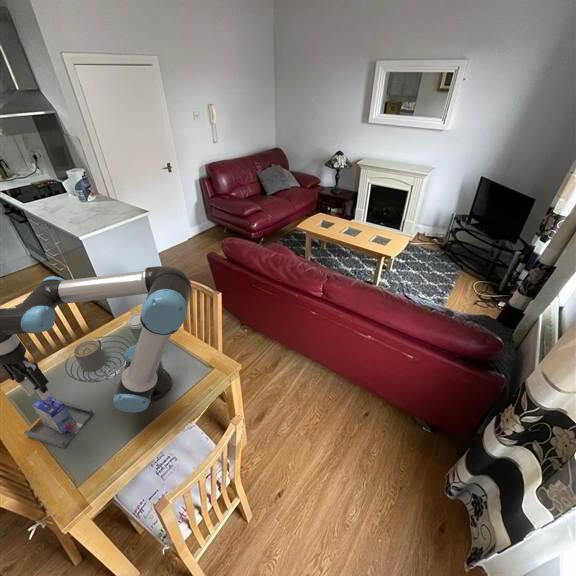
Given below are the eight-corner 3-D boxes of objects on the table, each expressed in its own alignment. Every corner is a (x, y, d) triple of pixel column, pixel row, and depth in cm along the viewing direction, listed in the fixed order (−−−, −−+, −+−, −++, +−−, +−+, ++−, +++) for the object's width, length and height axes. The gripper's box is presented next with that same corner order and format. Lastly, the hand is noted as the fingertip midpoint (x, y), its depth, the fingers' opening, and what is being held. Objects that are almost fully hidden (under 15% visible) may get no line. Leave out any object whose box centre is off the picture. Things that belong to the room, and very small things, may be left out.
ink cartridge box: (77, 422, 115) (61, 399, 106) (63, 435, 111) (46, 412, 102) (59, 412, 118) (42, 389, 109) (45, 424, 114) (26, 401, 105)
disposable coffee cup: (129, 346, 148) (120, 323, 140) (142, 331, 157) (135, 309, 148) (149, 350, 147) (141, 327, 138) (161, 334, 155) (154, 312, 147)
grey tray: (94, 413, 119) (91, 409, 117) (64, 448, 108) (60, 444, 106) (60, 404, 122) (57, 399, 120) (27, 437, 111) (24, 432, 109)
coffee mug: (96, 373, 135) (88, 358, 129) (76, 369, 136) (67, 354, 130) (115, 351, 145) (108, 336, 140) (96, 348, 147) (89, 333, 141)
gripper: (41, 344, 92) (71, 391, 105) (-6, 333, 95) (28, 380, 109) (18, 363, 86) (52, 410, 99) (-32, 350, 89) (8, 397, 103)
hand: (40, 394), depth 104 cm, fingers open, 5 cm apart
